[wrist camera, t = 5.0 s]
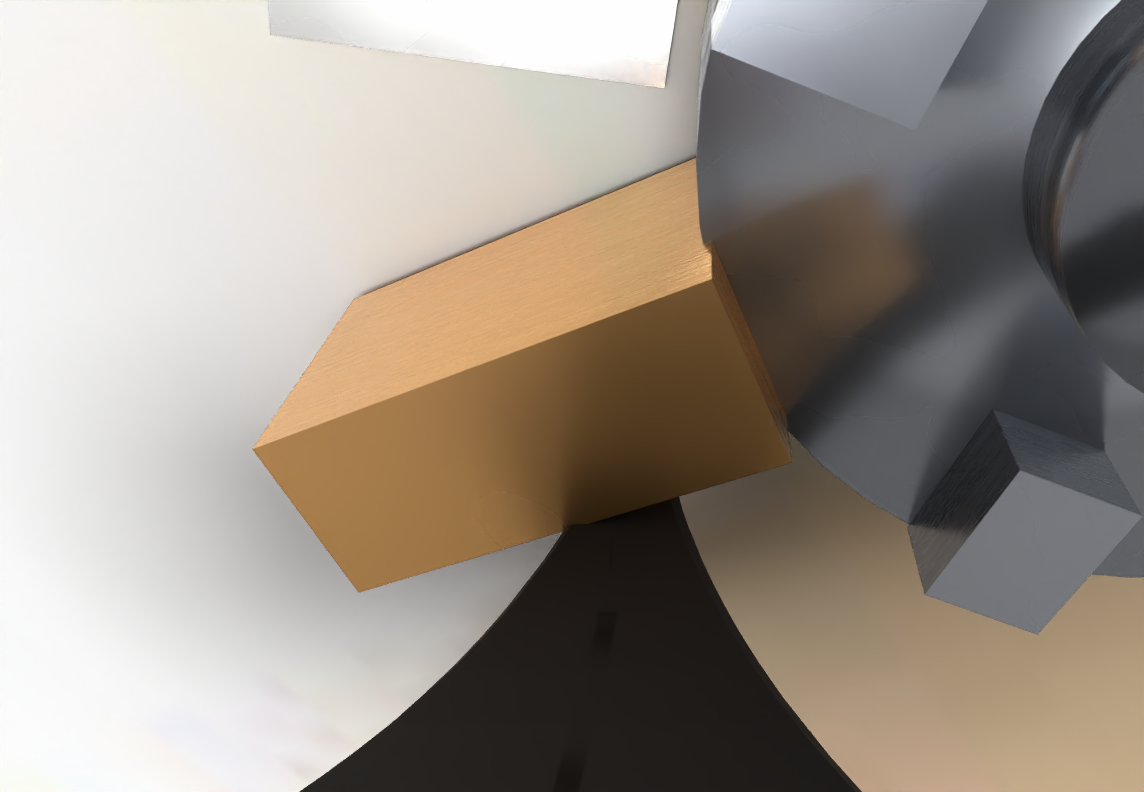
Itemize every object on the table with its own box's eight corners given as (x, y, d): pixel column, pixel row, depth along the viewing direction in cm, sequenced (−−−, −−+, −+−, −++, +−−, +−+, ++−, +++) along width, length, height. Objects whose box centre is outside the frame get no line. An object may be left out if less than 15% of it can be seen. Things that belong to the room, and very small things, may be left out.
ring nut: (1748, -825, 7) (2649, -1346, 4) (1674, 293, 11) (2074, 508, 8) (187, 36, 11) (-18, 140, 8) (546, 604, 15) (503, 822, 12)
